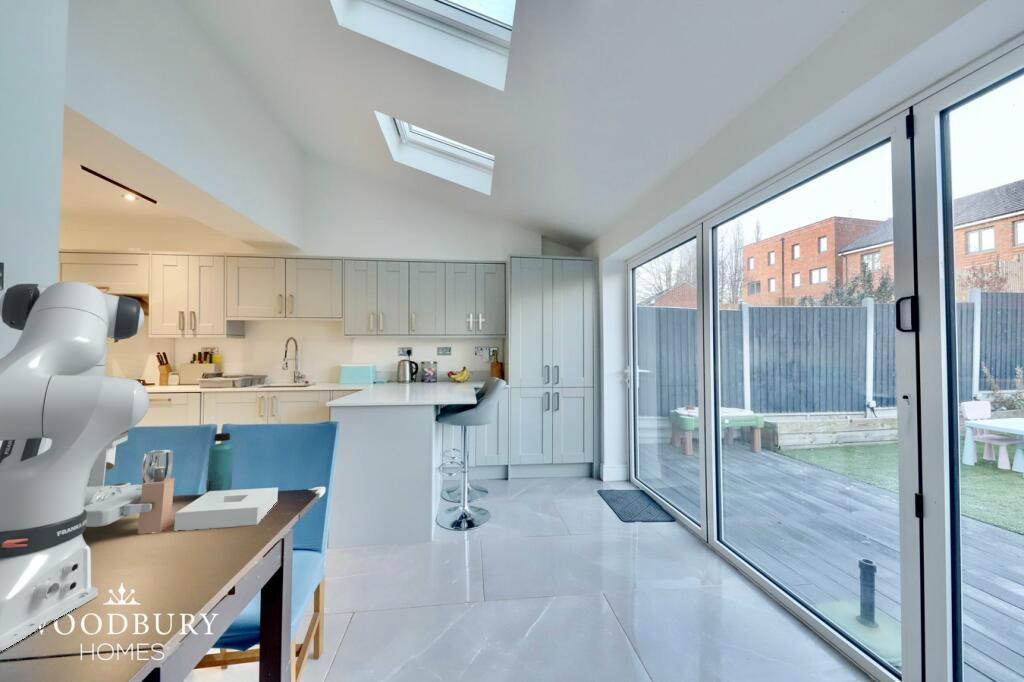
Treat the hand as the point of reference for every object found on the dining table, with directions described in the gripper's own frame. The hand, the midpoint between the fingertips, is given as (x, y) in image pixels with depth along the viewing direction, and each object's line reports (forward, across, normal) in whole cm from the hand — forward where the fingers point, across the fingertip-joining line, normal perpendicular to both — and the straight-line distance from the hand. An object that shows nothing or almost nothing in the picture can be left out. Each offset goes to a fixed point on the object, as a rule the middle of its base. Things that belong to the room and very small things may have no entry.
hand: (161, 502), depth 98 cm
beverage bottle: (+1, +25, +7) cm, 26 cm away
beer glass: (-15, +23, +7) cm, 28 cm away
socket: (+12, +8, +7) cm, 16 cm away
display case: (-30, +21, +7) cm, 37 cm away
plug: (-1, 0, +7) cm, 7 cm away
